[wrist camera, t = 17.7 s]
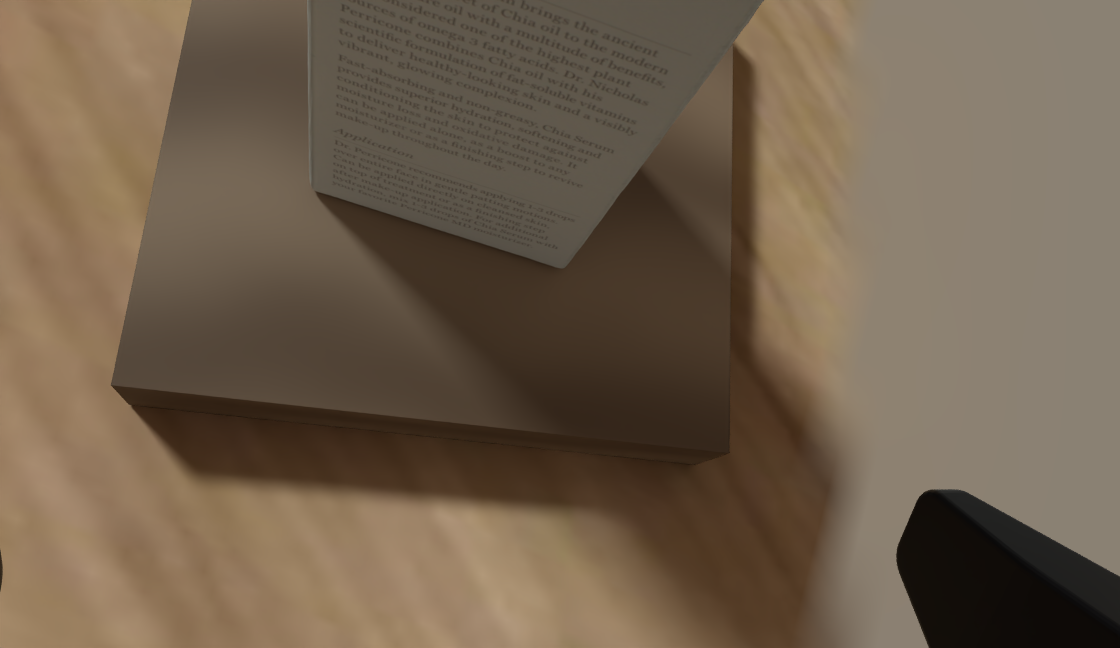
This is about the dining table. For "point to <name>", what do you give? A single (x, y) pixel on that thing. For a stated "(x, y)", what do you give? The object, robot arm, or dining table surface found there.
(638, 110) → the skincare box
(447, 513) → the dining table surface
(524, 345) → the walnut plinth
